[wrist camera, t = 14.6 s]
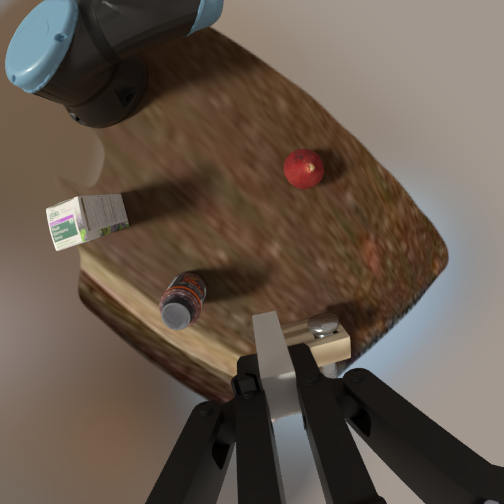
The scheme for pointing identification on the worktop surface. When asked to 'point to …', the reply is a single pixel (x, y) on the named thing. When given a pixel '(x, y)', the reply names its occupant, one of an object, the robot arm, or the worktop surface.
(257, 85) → the worktop surface
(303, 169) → the onion
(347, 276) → the worktop surface
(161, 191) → the worktop surface
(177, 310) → the supplement bottle
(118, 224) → the syrup box
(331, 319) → the pin
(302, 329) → the block
